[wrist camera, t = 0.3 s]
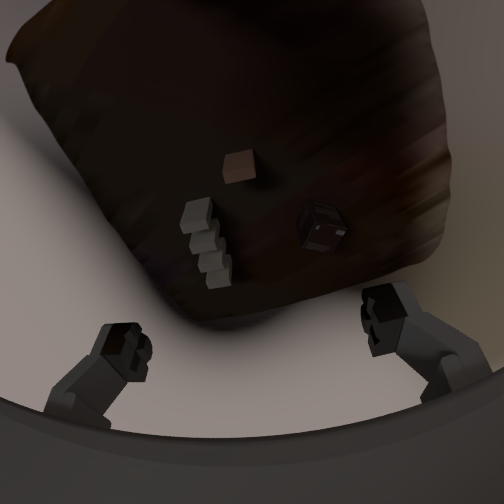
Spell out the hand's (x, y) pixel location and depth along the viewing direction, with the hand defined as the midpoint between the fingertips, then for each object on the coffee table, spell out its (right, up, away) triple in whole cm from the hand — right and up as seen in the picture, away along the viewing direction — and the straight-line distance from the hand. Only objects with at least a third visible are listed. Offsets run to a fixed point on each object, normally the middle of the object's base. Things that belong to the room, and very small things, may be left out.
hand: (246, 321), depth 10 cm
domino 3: (-7, +4, +46) cm, 47 cm away
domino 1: (-9, +11, +40) cm, 43 cm away
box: (+12, +9, +42) cm, 45 cm away
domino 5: (-2, +18, +34) cm, 39 cm away
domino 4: (-6, +1, +49) cm, 49 cm away
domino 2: (-8, +8, +43) cm, 44 cm away
